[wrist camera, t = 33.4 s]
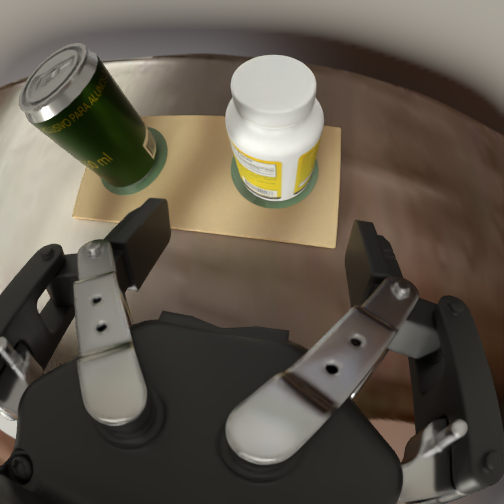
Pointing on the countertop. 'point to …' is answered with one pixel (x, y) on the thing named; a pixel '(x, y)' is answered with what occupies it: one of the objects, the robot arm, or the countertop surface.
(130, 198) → the board
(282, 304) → the countertop surface
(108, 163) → the beer can
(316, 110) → the supplement bottle
